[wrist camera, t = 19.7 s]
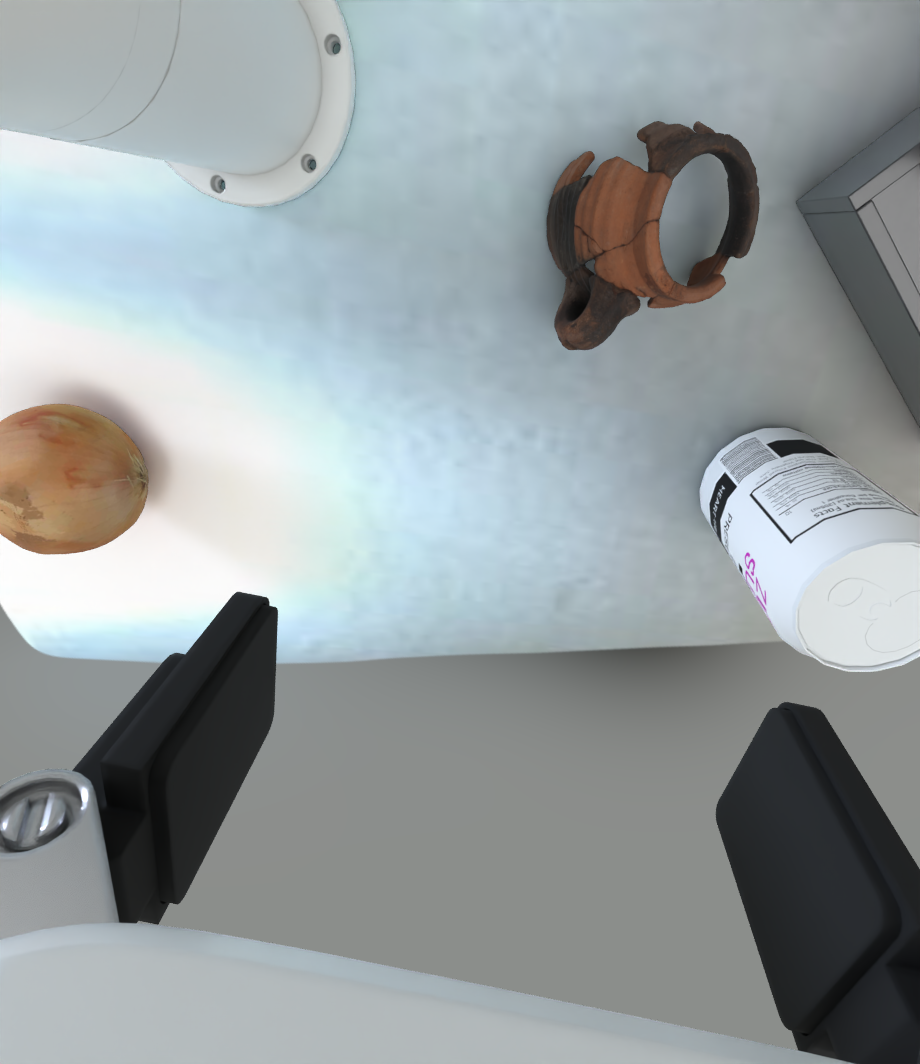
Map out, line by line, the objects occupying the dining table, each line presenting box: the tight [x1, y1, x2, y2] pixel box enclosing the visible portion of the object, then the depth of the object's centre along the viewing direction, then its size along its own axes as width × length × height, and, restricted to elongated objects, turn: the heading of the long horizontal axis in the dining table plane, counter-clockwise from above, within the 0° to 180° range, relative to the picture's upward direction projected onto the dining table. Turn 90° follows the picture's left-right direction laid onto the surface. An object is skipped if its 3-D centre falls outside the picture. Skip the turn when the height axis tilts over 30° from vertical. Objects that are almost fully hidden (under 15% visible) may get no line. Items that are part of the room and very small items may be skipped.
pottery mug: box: [547, 121, 760, 350], centre depth 32 cm, size 12×10×8 cm
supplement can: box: [700, 428, 920, 672], centre depth 33 cm, size 8×8×15 cm
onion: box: [0, 404, 148, 554], centre depth 39 cm, size 10×10×10 cm
